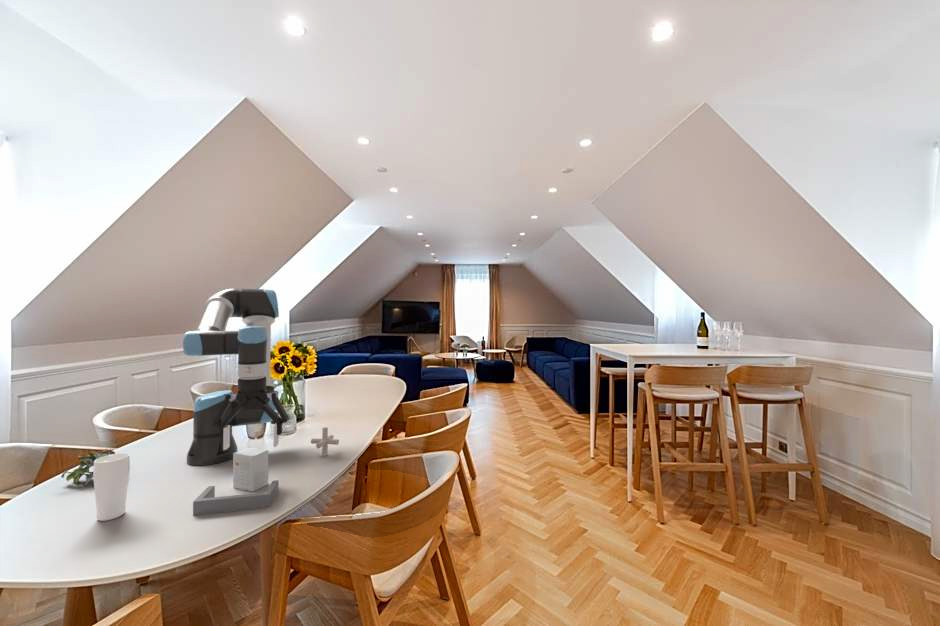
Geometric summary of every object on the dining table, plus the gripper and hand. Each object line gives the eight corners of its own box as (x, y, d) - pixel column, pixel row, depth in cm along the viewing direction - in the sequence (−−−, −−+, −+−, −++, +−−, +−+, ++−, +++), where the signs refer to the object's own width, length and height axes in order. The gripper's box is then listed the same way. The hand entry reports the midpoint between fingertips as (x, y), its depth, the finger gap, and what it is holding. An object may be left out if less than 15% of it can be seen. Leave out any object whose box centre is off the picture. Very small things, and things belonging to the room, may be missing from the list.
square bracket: (193, 515, 97) (193, 501, 97) (208, 498, 106) (208, 486, 106) (269, 507, 101) (269, 494, 101) (278, 492, 110) (278, 480, 110)
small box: (268, 484, 115) (269, 449, 115) (252, 492, 110) (253, 456, 110) (248, 480, 117) (249, 446, 118) (232, 488, 112) (232, 452, 112)
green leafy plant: (107, 493, 120) (136, 459, 123) (79, 503, 109) (112, 465, 113) (76, 473, 119) (106, 440, 123) (45, 482, 109) (79, 445, 112)
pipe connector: (343, 450, 144) (343, 424, 144) (331, 460, 134) (331, 432, 134) (318, 449, 145) (319, 423, 145) (304, 459, 135) (305, 431, 135)
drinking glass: (86, 526, 92) (87, 464, 92) (100, 512, 98) (101, 454, 98) (122, 520, 94) (123, 460, 94) (133, 507, 101) (134, 451, 101)
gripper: (199, 380, 107) (199, 454, 108) (294, 378, 113) (293, 448, 113) (211, 375, 114) (210, 444, 115) (299, 373, 120) (298, 439, 121)
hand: (251, 446), depth 114 cm, fingers open, 13 cm apart
